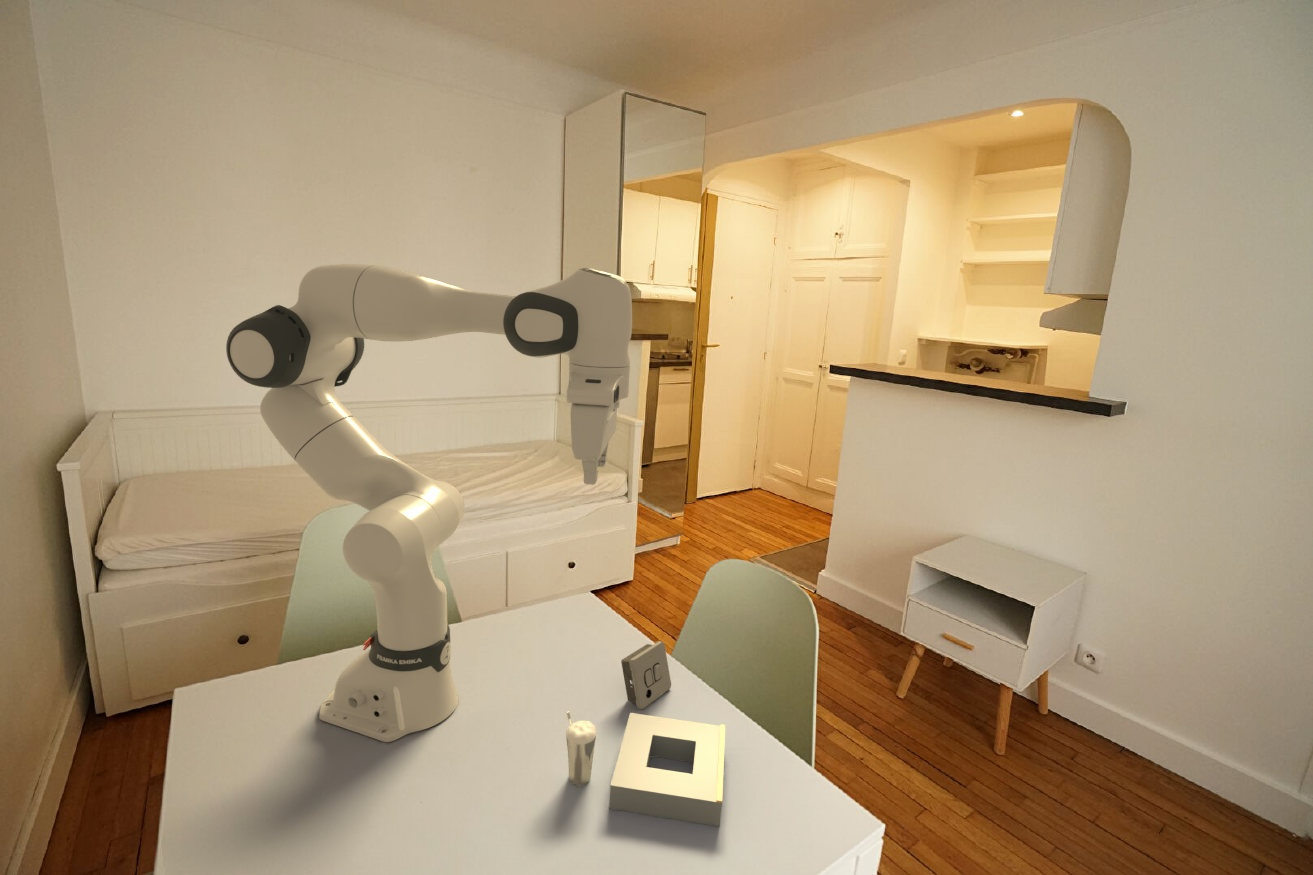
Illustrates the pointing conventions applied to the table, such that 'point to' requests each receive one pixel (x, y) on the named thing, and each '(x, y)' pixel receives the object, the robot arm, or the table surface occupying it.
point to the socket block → (670, 789)
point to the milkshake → (580, 750)
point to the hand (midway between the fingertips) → (595, 473)
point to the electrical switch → (646, 674)
